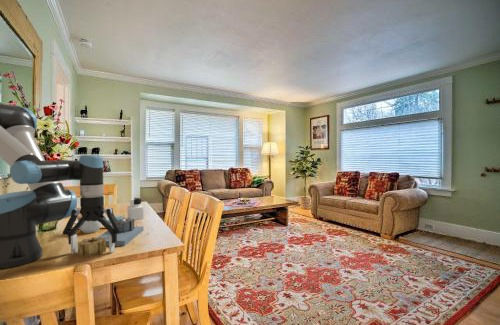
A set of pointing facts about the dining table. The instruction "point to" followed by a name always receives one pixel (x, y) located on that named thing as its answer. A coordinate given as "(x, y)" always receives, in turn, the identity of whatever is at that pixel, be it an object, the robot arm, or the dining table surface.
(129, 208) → the medicine bottle
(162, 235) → the dining table surface
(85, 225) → the lidded jar
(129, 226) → the dark gear
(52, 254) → the dining table surface
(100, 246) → the bronze gear
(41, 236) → the dining table surface
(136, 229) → the gear board
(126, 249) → the dining table surface
